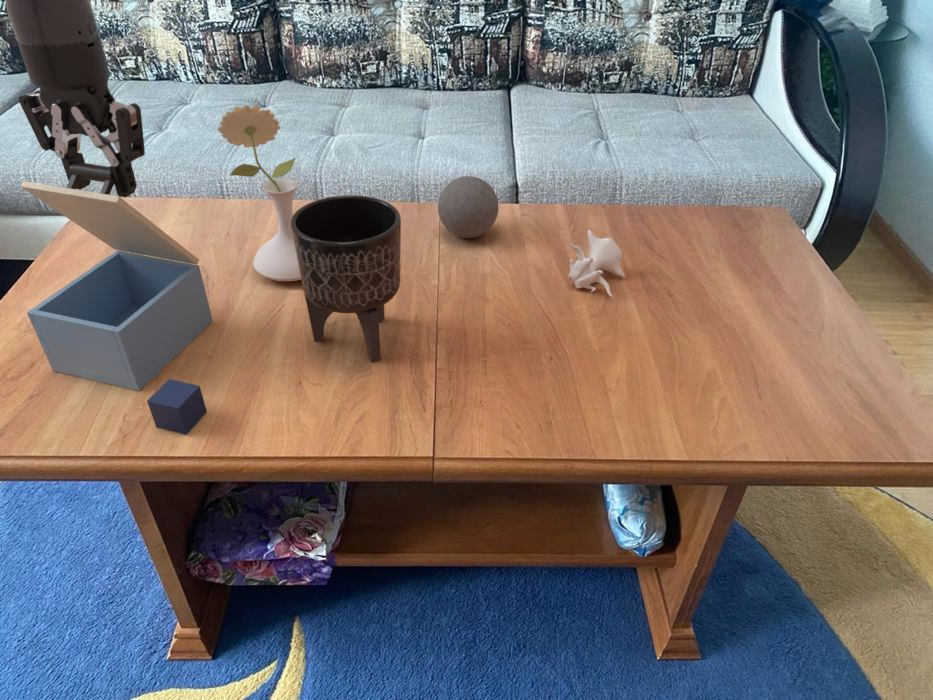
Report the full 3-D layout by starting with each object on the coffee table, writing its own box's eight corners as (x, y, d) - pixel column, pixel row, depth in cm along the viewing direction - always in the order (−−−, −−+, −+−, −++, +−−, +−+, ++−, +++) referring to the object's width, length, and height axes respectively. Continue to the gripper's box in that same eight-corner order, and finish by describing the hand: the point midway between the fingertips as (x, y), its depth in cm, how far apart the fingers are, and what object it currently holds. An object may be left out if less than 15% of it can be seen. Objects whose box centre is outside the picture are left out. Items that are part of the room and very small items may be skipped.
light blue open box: (139, 391, 82) (118, 332, 77) (52, 370, 85) (26, 312, 80) (213, 320, 94) (199, 265, 89) (135, 305, 97) (116, 250, 92)
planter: (301, 369, 86) (281, 244, 75) (315, 311, 96) (299, 194, 86) (404, 368, 87) (398, 243, 76) (407, 311, 97) (402, 194, 86)
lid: (116, 202, 73) (133, 162, 74) (20, 186, 76) (37, 147, 77) (197, 265, 89) (210, 230, 90) (114, 249, 91) (128, 216, 92)
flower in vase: (336, 252, 110) (319, 93, 95) (322, 290, 101) (301, 121, 86) (256, 249, 110) (226, 90, 95) (234, 287, 101) (197, 118, 86)
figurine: (638, 268, 106) (630, 284, 97) (600, 295, 110) (588, 313, 101) (599, 217, 105) (587, 229, 97) (561, 246, 109) (546, 260, 100)
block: (186, 434, 77) (178, 408, 74) (156, 427, 77) (146, 400, 75) (207, 411, 80) (199, 385, 77) (177, 404, 81) (169, 378, 78)
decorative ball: (454, 253, 110) (455, 196, 104) (428, 228, 117) (427, 172, 111) (507, 241, 114) (511, 184, 108) (479, 216, 121) (481, 162, 115)
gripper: (-31, 34, 68) (28, 194, 78) (90, 48, 65) (136, 212, 75) (28, 20, 74) (76, 171, 84) (142, 32, 71) (178, 187, 81)
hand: (104, 190), depth 79 cm, fingers closed on lid, 5 cm apart
